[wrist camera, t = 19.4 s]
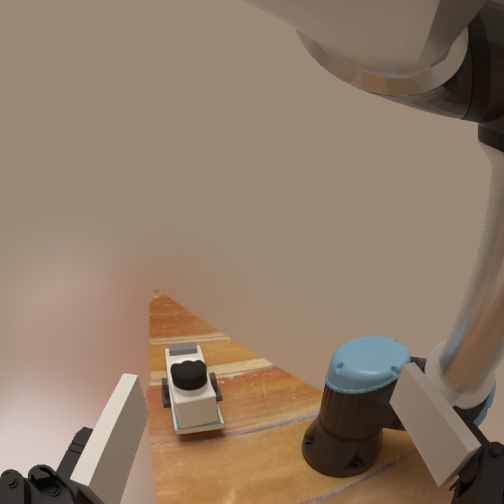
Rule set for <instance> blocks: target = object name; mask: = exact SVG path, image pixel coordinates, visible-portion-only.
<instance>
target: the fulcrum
mask: <svg viewBox="0 0 504 504" xmlns="http://www.w3.org/2000/svg"><path fill="white" fill-rule="evenodd" d="M210 380H211V381H210V382H211V385H212V387H213V390H214V392H215V394H216V397H217V401H221V400H222V395H221V392H220V389H219V387H218V384H217V380H216V376H215V373H210ZM162 396H163V405H164V408H165V407H171V399H170V391H169V386H168V385H167V380H166V378H162Z"/></svg>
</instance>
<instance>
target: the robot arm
mask: <svg viewBox="0 0 504 504" xmlns="http://www.w3.org/2000/svg"><path fill="white" fill-rule="evenodd" d="M243 1H245V2H247V3H250V4H252V5H254V6H256V7H258V8H260V9H262V10H264V11H266V12H268V13H269V14H271V15H273V16H275V17H277V18H278V19H280V20H282V21H284V22H285V23H287V24H289V25H290V26H292V27H294V28H295V29H296V31H297V34H298V36H299V38H300V40H301V42H302V43H303V45H304V47H305V48H306V49H307V51H308V52H309V53H310V54H311V56H312V57H313V58H314V59H315V60H316V61H317V62H318V63H319V64H320V65H321V66H322V67H324V68H325V69H326V70H327V71H328V72H330V73H331V74H333V75H334V76H336V77H337V78H339V79H341V80H342V81H344V82H346V83H348V84H350V85H352V86H355V87H357V88H359V89H361V90H364V91H366V92H368V93H371V94H374V95H377V96H380V97H383V98H386V99H388V100H391V101H394V102H397V103H400V104H404V105H406V106H410V107H413V108H416V109H419V110H423V111H426V112H430V113H434V114H437V115H441V116H446V117H451V118H459V119H461V120H468V121H473V122H477V123H478V143H479V145H480V146H481V148H482V149H483V151H484V152H485V154H486V155H487V157H488V158H489V160H490V161H491V165H492V171H491V181H490V190H489V197H488V204H487V210H486V216H485V221H484V226H483V231H482V235H481V240H480V244H479V248H478V252H477V256H476V260H475V263H474V267H473V270H472V274H471V277H470V280H469V283H468V286H467V289H466V292H465V295H464V298H463V301H462V303H461V306H460V309H459V311H458V314H457V317H456V319H455V322H454V324H453V326H452V329H451V332H450V334H449V336H448V338H447V340H446V341H444V342H442V343H440V344H438V345H437V346H436V347H435V348H434V349H433V350H432V351H431V352H430V354H429V356H428V357H427V359H425V358H418V357H411V356H410V352H409V350H408V348H407V347H406V345H404V344H403V343H402V342H397V340H396V339H393V338H390V337H384V336H367V337H360V338H356V339H354V340H351V341H348V342H346V343H344V344H343V345H341V346H340V347H339V348H338V349H337V350H336V351H335V352H334V354H333V356H332V358H331V362H330V365H329V369H328V371H327V373H326V383H325V388H324V393H323V398H322V403H321V408H320V412H319V415H318V416H317V418H316V419H315V420H314V421H313V422H312V424H311V425H310V426H309V427H308V429H307V430H306V432H305V435H304V438H303V443H302V452H303V456H304V458H305V460H306V461H307V462H308V464H309V465H310V466H311V467H312V468H314V469H315V470H317V471H318V472H320V473H323V474H325V475H329V476H333V477H349V476H354V475H357V474H359V473H362V472H364V471H365V470H367V469H368V468H370V467H371V466H372V465H373V464H374V462H375V461H376V459H377V458H378V456H379V454H380V452H381V449H382V445H383V428H388V429H395V430H401V431H407V433H408V434H409V436H410V438H411V439H412V441H413V443H414V445H415V446H416V448H417V450H418V451H419V453H420V455H421V457H422V459H423V460H424V462H425V464H426V466H427V467H428V469H429V471H430V473H431V475H432V476H433V478H434V480H435V482H436V484H437V486H438V487H441V486H443V485H445V484H447V483H448V482H450V481H452V480H453V478H454V477H455V476H456V475H457V474H458V476H459V477H460V478H459V479H458V480H457V481H456V482H455V483H454V484H453V485H452V486H451V487H450V489H449V491H451V490H452V489H453V488H454V487H455V486H456V487H455V489H454V495H453V499H452V502H451V504H504V445H502V444H501V443H499V442H491V443H490V442H489V441H488V440H487V438H486V437H485V436H484V435H483V434H482V432H481V431H480V430H479V429H478V426H479V425H480V424H481V423H482V421H483V420H484V419H485V417H486V415H487V409H488V408H490V407H491V404H492V402H493V399H494V395H495V388H496V380H495V370H496V369H497V368H498V366H499V365H500V363H501V362H502V360H503V359H504V0H243ZM148 416H149V411H148V407H147V404H146V401H145V398H144V395H143V391H142V388H141V385H140V381H139V377H138V375H131V374H123V376H122V378H121V379H120V382H119V383H118V385H117V387H116V389H115V391H114V392H113V394H112V396H111V398H110V400H109V402H108V403H107V405H106V407H105V409H104V411H103V413H102V415H101V417H100V419H99V420H98V422H97V424H96V426H95V428H94V429H90V428H87V427H83V428H82V429H81V430H80V431H79V432H77V433H76V435H75V436H74V438H73V440H72V443H71V444H70V446H69V448H68V450H67V451H66V453H65V455H64V457H63V459H62V461H61V463H60V465H59V467H58V469H57V471H56V472H55V471H54V470H53V469H52V468H51V467H50V466H47V465H36V466H34V467H33V468H32V469H30V471H29V473H28V478H24V477H23V476H22V475H21V474H20V473H19V472H18V471H16V470H12V469H10V470H6V471H4V472H3V473H2V474H1V477H0V504H120V502H121V499H122V495H123V492H124V489H125V485H126V482H127V479H128V476H129V473H130V470H131V466H132V463H133V460H134V457H135V454H136V451H137V448H138V445H139V442H140V439H141V437H142V433H143V430H144V428H145V425H146V422H147V419H148Z"/></svg>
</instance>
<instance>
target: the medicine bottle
mask: <svg viewBox="0 0 504 504" xmlns="http://www.w3.org/2000/svg"><path fill="white" fill-rule="evenodd" d="M170 371H171V376H172V378H169V379H168V381H169V386H170V390H171V395H172V399H173V403H174V407H175V410H176V414H177V417H178V420H179V424H180V427H181V428H188V427H193V426H198V425H203V424H208V423H212V422H217V421H219V416H218V407H217V397H216V394H215V392H214V390H213V387H212V385H211V383H210V381H209V379H208V377H207V369H206V365H205V363H204V362H203V361H201V360H199V359H197V358H192V357H186V358H181V359H178V360H177V361H175V362H174V363H173V364H172V365H171V368H170Z"/></svg>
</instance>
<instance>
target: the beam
mask: <svg viewBox="0 0 504 504" xmlns="http://www.w3.org/2000/svg"><path fill="white" fill-rule="evenodd" d="M165 350H166V362H167V372H168V379H169V378H172V376H171V371H170V368H171V365H172V364H173V363H174V362H175V361H177V360H178V359H181V358H186V357H192V358H197V359H199V360H201V361H203V362H204V359H203V356H202V353H201V349H200V346H196V342H192V343H183V344H173V345H169V349H165ZM207 377H208V379H209V376H208V373H207ZM209 381H210V379H209ZM168 382H169V381H168ZM210 383H211V382H210ZM169 391H170V399H171V407H172V414H173V421H174V428H175V432H176V434H186V433H194V432H202V431H209V430H215V429H221V428H224V422H223V419H222V416H221V413H220V410H219V407H218V404H217V407H218V416H219V421H217V422H212V423H208V424H203V425H198V426H193V427H188V428H181V427H180V424H179V420H178V417H177V414H176V410H175V407H174V403H173V399H172V395H171V390H170V386H169Z"/></svg>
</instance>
